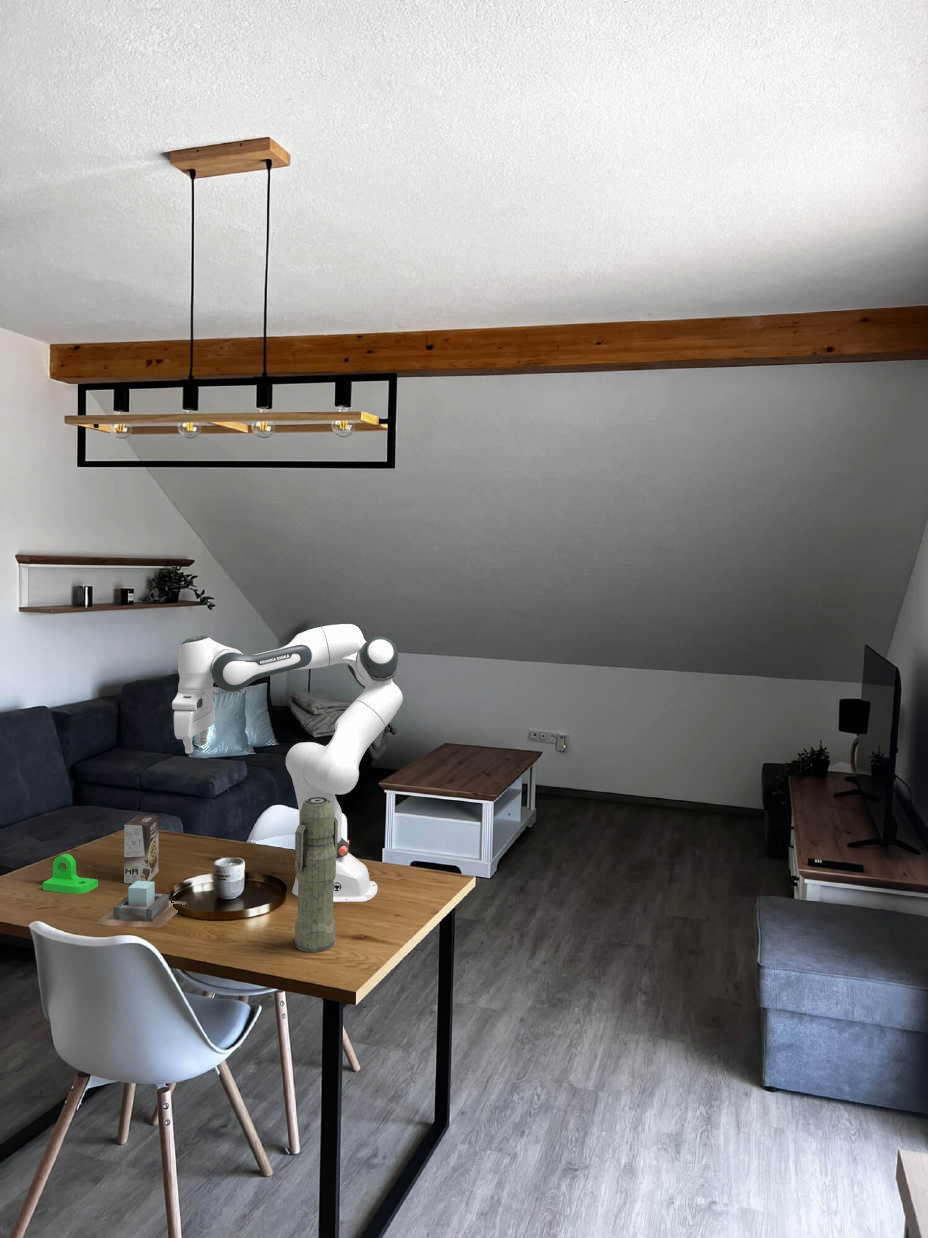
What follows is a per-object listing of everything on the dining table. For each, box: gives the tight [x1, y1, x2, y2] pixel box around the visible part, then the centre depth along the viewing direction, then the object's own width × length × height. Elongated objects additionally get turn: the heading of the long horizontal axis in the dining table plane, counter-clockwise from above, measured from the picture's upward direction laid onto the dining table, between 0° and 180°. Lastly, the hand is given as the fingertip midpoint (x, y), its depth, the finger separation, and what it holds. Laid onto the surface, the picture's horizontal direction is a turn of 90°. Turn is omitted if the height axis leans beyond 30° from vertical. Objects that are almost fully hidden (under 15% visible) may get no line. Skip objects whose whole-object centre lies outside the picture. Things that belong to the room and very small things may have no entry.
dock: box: [93, 893, 187, 928], centre depth 221 cm, size 16×16×4 cm
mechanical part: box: [42, 853, 99, 895], centre depth 237 cm, size 12×6×8 cm, turn 77°
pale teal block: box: [127, 880, 156, 907], centre depth 221 cm, size 4×4×7 cm
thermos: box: [294, 797, 338, 953], centre depth 204 cm, size 9×12×35 cm
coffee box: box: [123, 814, 159, 884], centre depth 245 cm, size 9×6×16 cm
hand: (196, 748), depth 243 cm, fingers open, 8 cm apart
